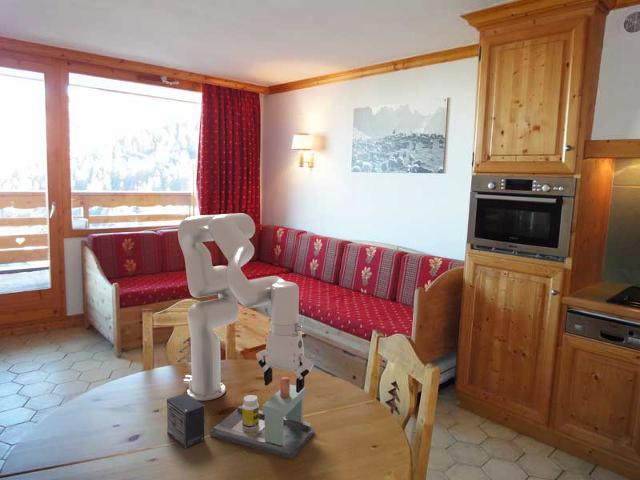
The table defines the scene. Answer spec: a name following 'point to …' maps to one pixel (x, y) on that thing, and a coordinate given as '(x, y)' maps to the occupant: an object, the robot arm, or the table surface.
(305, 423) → the base
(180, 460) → the table surface
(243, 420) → the supplement bottle
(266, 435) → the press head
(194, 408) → the small box
